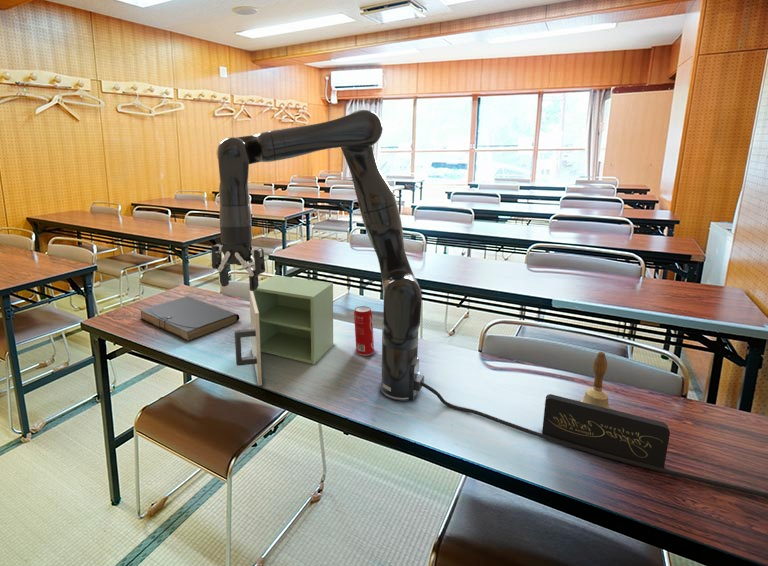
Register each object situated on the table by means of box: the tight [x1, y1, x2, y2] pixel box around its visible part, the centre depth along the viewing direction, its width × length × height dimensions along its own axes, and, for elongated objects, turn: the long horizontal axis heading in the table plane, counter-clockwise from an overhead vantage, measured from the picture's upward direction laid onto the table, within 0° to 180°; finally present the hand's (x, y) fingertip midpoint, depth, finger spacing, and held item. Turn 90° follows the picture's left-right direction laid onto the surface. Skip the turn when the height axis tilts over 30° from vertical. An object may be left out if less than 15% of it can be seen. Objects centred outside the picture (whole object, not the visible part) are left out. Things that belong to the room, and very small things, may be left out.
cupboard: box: [253, 274, 334, 365], centre depth 141 cm, size 15×22×22 cm
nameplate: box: [541, 393, 671, 473], centre depth 91 cm, size 21×2×10 cm, turn 56°
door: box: [234, 288, 263, 387], centre depth 129 cm, size 7×22×22 cm, turn 9°
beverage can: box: [353, 305, 375, 357], centre depth 138 cm, size 6×6×15 cm
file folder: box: [139, 296, 240, 342], centre depth 169 cm, size 33×4×24 cm
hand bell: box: [579, 351, 611, 409], centre depth 103 cm, size 8×8×16 cm
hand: (239, 287), depth 105 cm, fingers open, 8 cm apart
